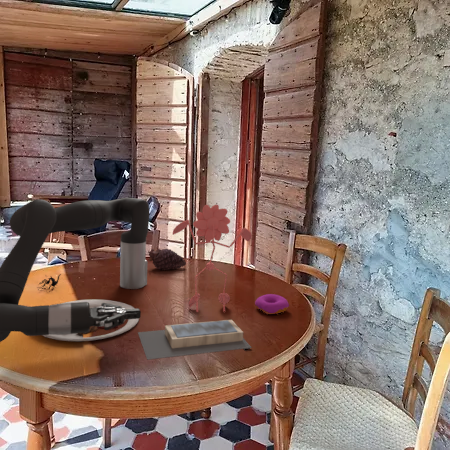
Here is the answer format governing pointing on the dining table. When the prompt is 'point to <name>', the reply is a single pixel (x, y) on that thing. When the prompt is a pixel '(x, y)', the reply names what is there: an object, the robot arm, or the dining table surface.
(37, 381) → the dining table surface
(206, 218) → the figurine
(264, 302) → the donut
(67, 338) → the plated food
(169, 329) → the birch picture frame
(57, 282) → the creature
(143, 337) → the rubber mat
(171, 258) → the pine cone
